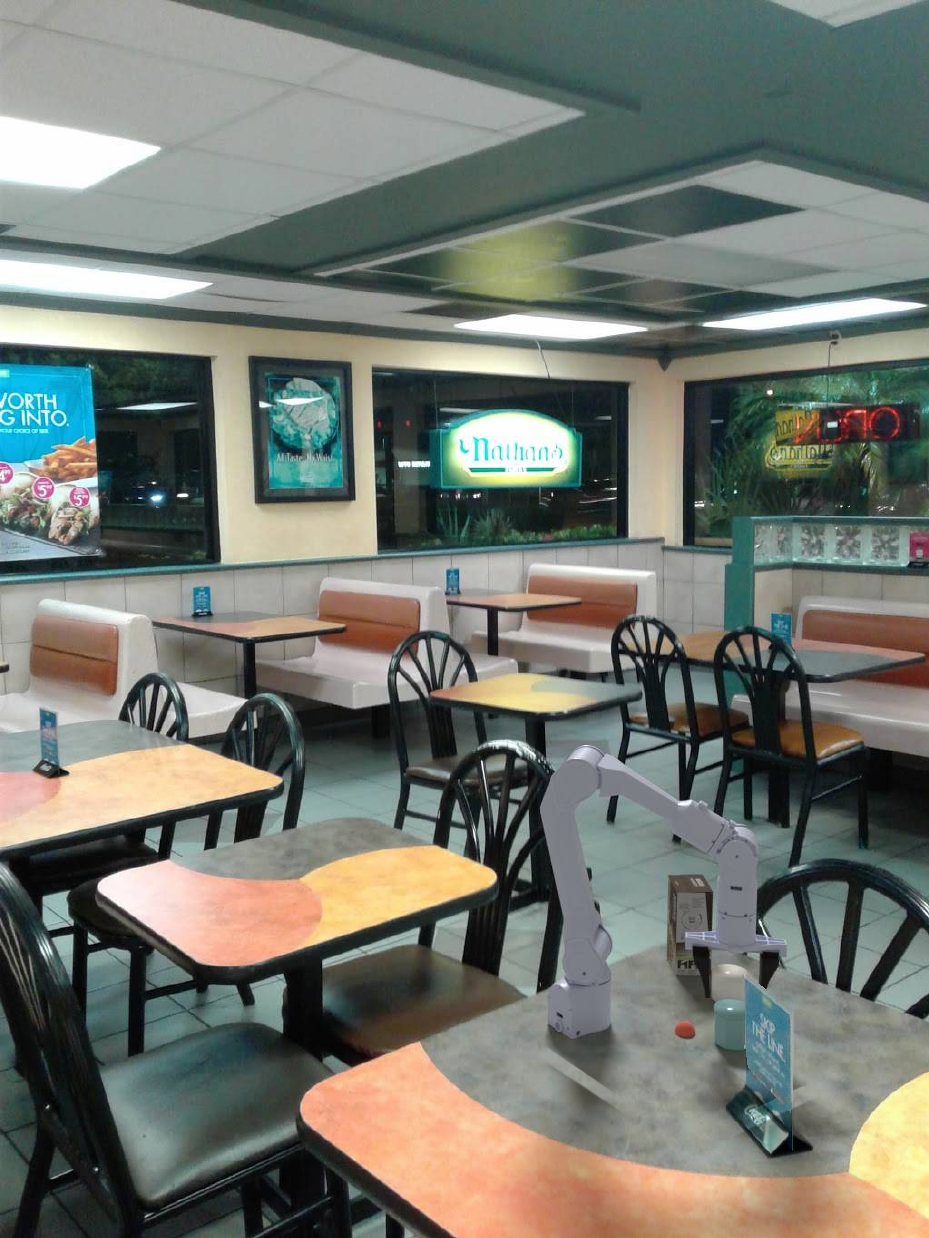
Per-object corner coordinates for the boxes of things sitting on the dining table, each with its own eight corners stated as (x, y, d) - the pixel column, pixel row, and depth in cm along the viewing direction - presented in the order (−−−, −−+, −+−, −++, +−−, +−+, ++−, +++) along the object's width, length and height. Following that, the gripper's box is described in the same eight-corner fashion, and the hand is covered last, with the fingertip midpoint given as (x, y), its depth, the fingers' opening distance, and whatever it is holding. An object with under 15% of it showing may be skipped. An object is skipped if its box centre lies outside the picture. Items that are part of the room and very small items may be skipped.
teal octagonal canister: (733, 1059, 161) (734, 1020, 160) (704, 1043, 165) (705, 1005, 165) (760, 1048, 164) (761, 1010, 163) (731, 1032, 168) (732, 995, 168)
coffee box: (712, 983, 187) (714, 892, 185) (674, 983, 187) (676, 891, 185) (702, 960, 196) (703, 873, 194) (665, 960, 196) (667, 873, 194)
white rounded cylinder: (730, 1018, 174) (730, 982, 174) (703, 1004, 179) (704, 969, 178) (754, 1008, 178) (755, 973, 177) (727, 995, 182) (728, 961, 181)
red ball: (684, 1047, 165) (685, 1029, 165) (670, 1039, 168) (670, 1021, 167) (698, 1042, 167) (699, 1023, 167) (684, 1034, 169) (685, 1015, 169)
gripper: (686, 916, 159) (684, 1005, 161) (790, 923, 157) (786, 1014, 158) (686, 898, 166) (684, 984, 168) (785, 905, 164) (782, 992, 165)
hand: (733, 997), depth 164 cm, fingers open, 7 cm apart
